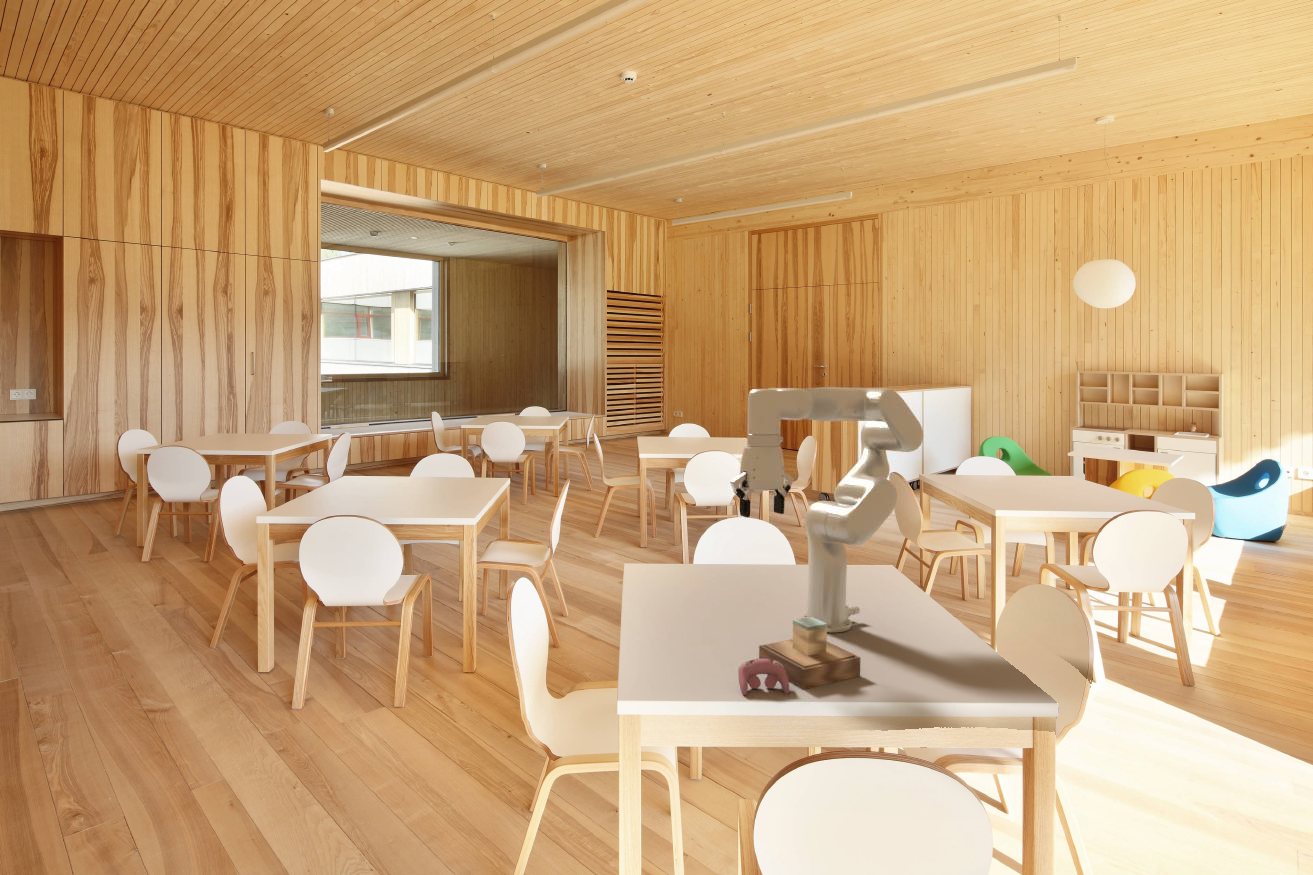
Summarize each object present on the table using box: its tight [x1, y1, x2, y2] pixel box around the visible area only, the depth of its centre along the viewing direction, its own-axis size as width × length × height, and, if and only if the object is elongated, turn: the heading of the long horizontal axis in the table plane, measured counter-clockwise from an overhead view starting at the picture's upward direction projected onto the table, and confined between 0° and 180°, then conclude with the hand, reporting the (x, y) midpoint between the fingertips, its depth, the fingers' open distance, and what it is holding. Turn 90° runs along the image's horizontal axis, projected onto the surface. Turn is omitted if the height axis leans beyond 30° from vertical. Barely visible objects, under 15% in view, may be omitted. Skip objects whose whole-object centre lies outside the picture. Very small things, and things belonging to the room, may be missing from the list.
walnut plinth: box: [758, 638, 862, 690], centre depth 154 cm, size 15×15×4 cm
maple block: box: [792, 617, 828, 656], centre depth 153 cm, size 5×5×6 cm
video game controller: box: [737, 658, 790, 696], centre depth 144 cm, size 10×5×7 cm, turn 94°
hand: (762, 514), depth 169 cm, fingers open, 9 cm apart
